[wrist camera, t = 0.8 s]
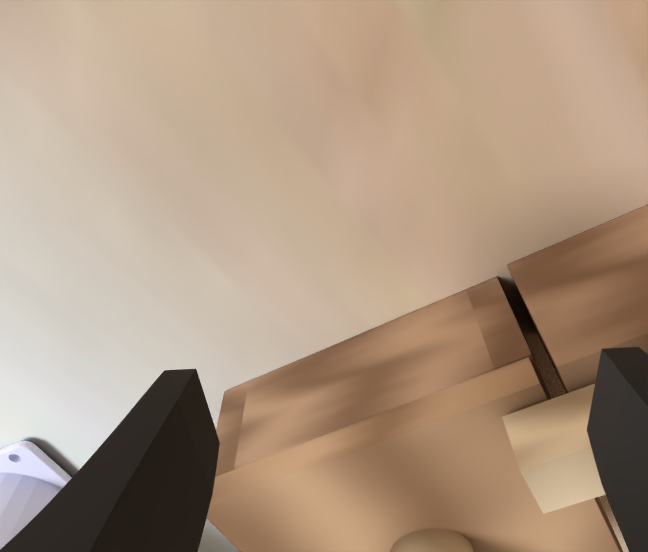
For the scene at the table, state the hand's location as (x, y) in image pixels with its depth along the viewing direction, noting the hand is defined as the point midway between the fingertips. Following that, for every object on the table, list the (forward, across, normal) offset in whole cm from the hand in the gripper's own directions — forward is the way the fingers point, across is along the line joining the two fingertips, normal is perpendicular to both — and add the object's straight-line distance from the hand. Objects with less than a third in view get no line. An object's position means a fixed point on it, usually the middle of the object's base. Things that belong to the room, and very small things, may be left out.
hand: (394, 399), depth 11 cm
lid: (+6, -1, +13) cm, 14 cm away
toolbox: (+10, -1, +13) cm, 16 cm away
